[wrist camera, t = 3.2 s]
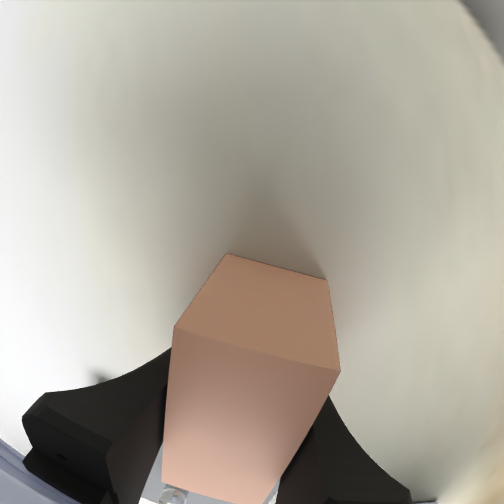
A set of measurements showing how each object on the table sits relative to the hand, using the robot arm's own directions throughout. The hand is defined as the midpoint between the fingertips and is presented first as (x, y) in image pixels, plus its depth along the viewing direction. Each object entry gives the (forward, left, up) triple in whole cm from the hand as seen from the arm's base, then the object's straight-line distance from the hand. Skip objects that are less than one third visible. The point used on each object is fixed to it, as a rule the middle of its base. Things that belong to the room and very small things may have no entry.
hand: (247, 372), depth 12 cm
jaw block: (0, 0, -2) cm, 2 cm away
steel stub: (+2, +12, -2) cm, 12 cm away
